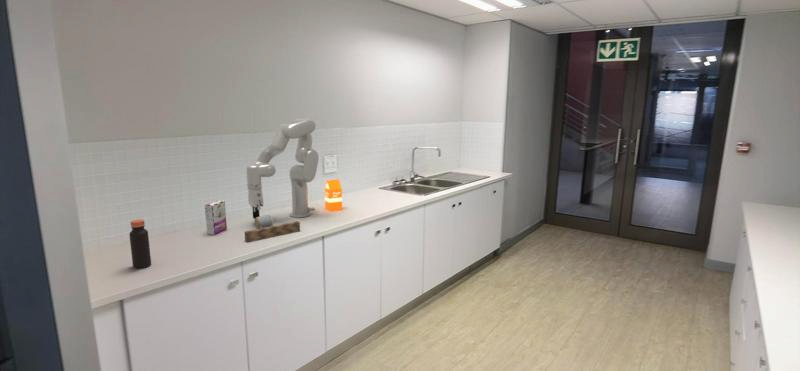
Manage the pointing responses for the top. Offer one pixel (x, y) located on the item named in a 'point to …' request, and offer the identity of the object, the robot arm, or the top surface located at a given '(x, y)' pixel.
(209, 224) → the candy bar box
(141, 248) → the bottle
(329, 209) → the orange juice
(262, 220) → the ceramic mug
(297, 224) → the walnut board
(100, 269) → the top surface
